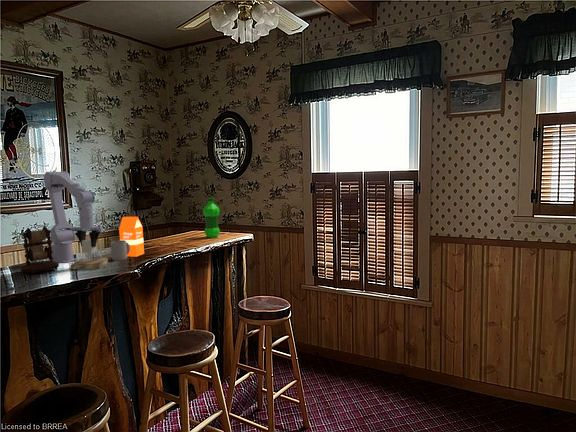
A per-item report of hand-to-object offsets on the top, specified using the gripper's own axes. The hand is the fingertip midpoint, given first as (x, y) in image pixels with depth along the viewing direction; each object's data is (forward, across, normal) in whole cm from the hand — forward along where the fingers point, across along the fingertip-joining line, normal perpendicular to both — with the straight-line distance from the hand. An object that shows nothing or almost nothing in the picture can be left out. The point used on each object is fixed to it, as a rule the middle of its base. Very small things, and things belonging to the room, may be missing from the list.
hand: (88, 246), depth 197 cm
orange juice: (+9, +7, +26) cm, 29 cm away
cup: (+9, +6, +17) cm, 20 cm away
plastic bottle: (+9, +32, +80) cm, 87 cm away
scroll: (+10, -18, -10) cm, 23 cm away
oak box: (+10, 0, 0) cm, 10 cm away
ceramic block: (+2, 0, +1) cm, 2 cm away
